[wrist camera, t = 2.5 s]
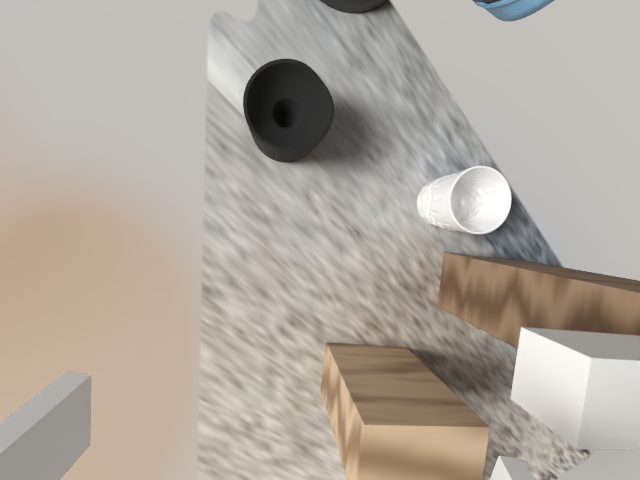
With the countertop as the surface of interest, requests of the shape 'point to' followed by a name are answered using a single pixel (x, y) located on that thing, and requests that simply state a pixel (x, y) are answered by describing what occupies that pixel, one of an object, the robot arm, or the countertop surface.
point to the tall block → (536, 297)
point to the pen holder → (287, 109)
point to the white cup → (466, 201)
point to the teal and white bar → (581, 385)
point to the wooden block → (398, 417)
